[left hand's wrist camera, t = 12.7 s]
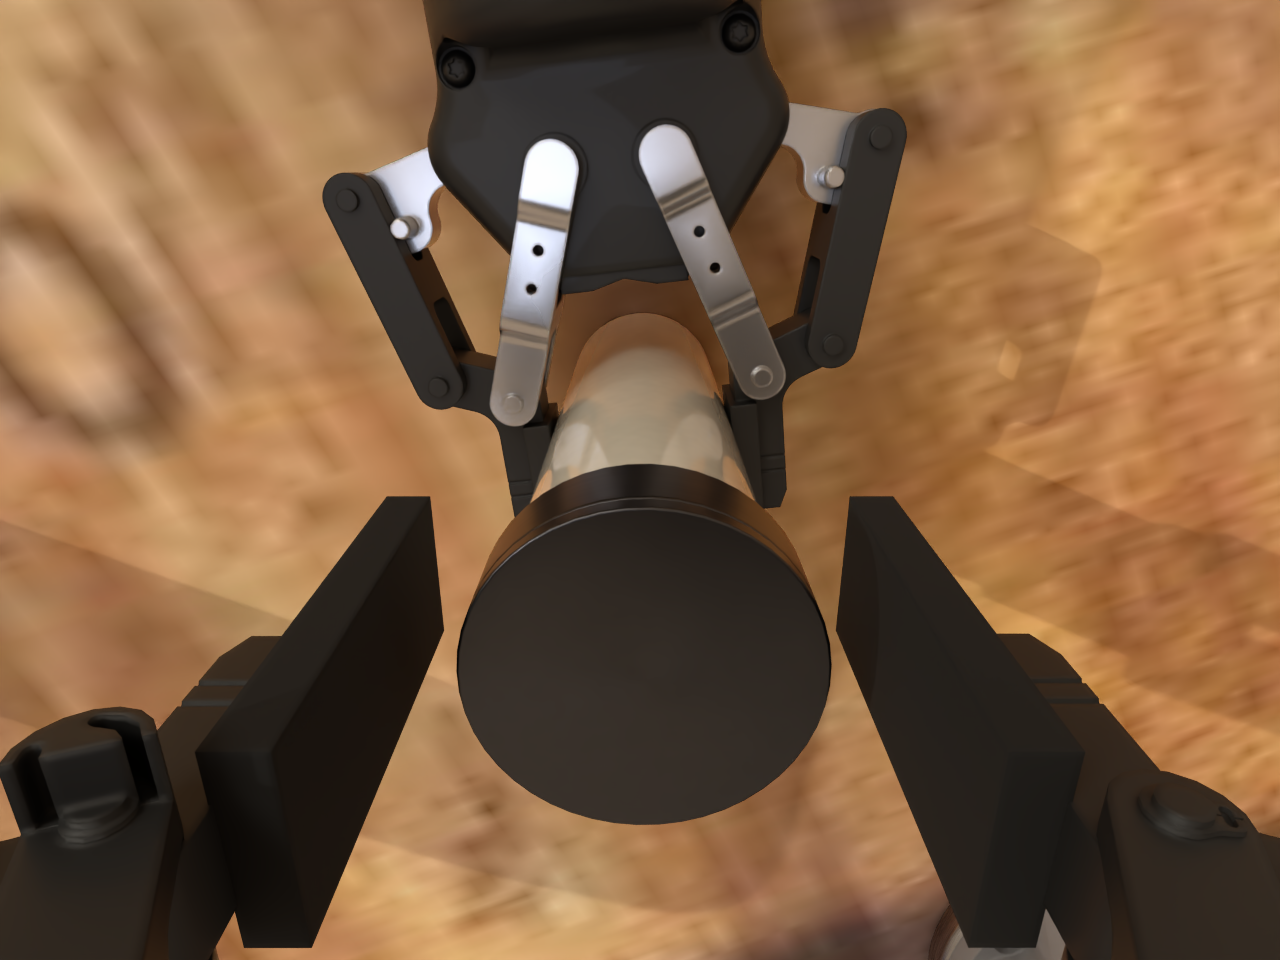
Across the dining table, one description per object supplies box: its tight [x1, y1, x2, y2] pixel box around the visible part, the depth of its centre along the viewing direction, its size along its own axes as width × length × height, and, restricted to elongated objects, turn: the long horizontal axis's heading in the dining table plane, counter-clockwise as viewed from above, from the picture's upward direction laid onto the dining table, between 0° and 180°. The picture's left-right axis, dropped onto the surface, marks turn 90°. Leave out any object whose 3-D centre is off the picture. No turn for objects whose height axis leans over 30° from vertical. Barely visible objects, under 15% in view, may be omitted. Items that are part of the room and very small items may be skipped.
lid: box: [457, 464, 832, 825], centre depth 12 cm, size 5×5×2 cm
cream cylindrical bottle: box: [530, 313, 757, 503], centre depth 20 cm, size 5×5×17 cm
